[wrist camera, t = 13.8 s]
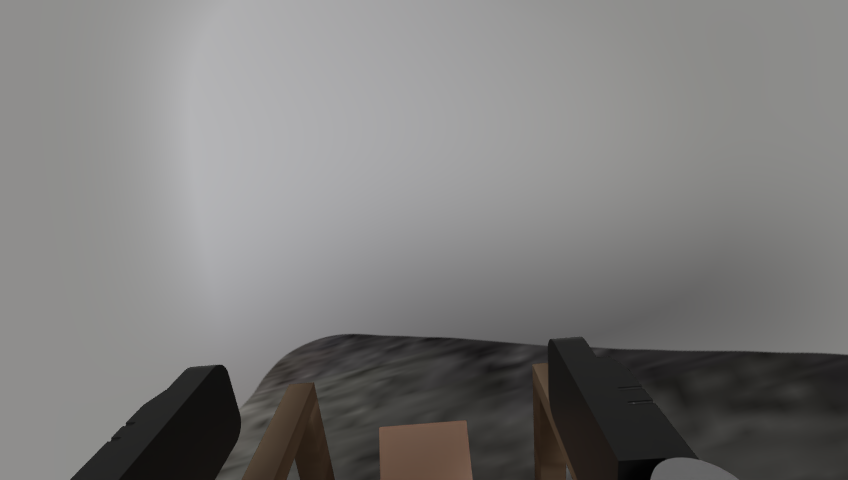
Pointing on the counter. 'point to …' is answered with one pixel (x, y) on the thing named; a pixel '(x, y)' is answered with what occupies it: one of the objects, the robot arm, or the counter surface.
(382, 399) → the counter surface
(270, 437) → the wooden legged stool
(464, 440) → the block
